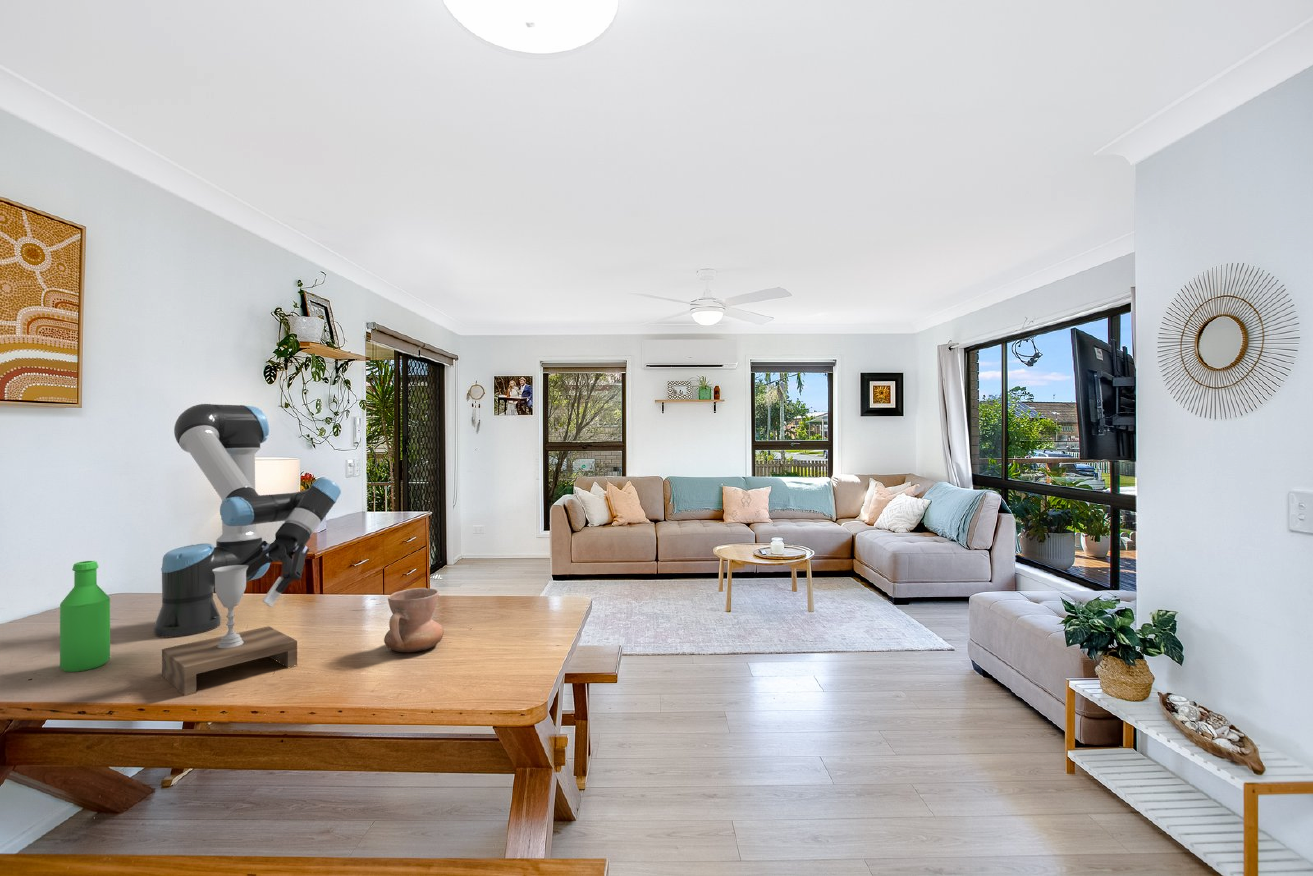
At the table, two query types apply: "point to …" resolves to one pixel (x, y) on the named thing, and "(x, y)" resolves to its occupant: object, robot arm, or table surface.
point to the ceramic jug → (413, 620)
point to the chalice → (230, 597)
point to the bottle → (84, 622)
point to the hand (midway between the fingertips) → (244, 601)
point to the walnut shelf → (224, 655)
